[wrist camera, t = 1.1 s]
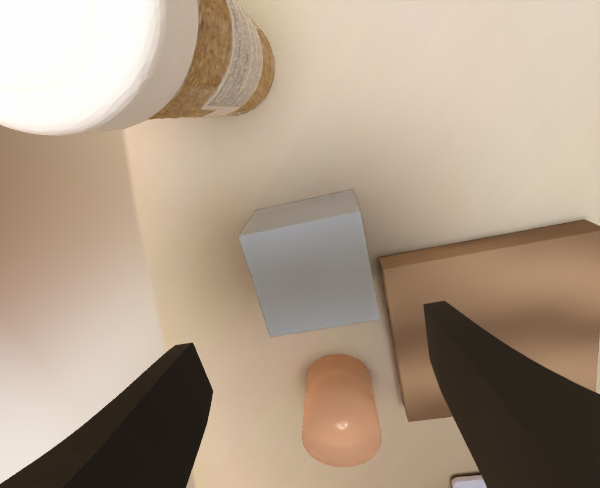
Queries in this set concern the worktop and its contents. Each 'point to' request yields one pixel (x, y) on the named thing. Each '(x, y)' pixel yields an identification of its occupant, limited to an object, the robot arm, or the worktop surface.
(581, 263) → the plinth
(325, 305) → the block
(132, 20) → the sprinkles bottle
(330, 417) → the cylinder
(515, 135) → the worktop surface
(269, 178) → the worktop surface
